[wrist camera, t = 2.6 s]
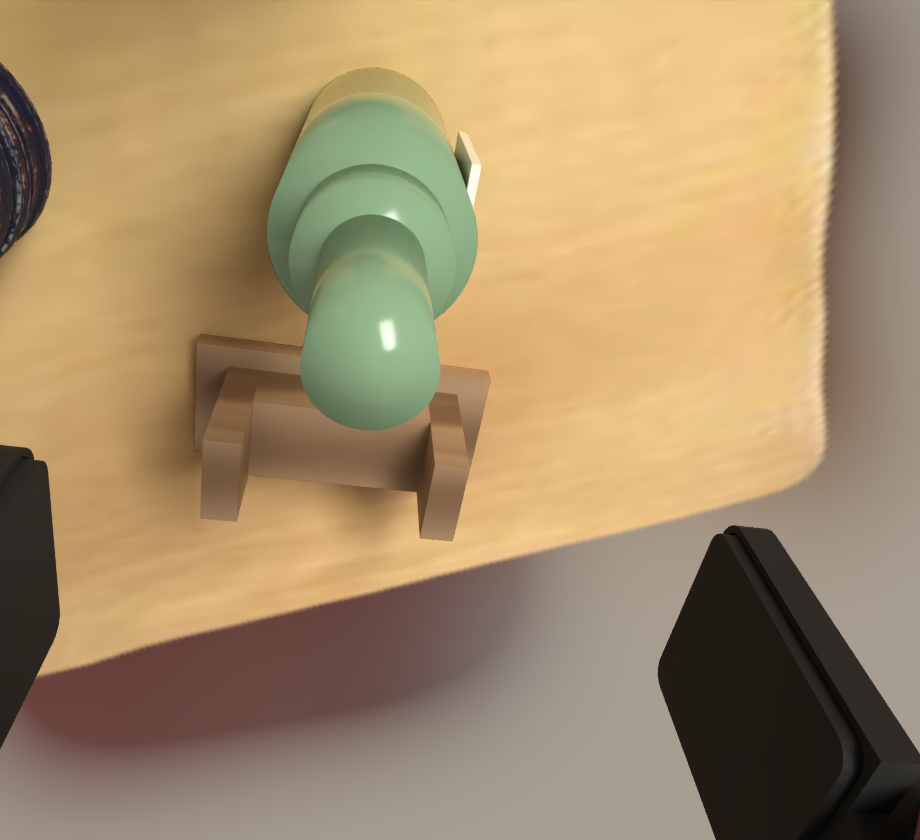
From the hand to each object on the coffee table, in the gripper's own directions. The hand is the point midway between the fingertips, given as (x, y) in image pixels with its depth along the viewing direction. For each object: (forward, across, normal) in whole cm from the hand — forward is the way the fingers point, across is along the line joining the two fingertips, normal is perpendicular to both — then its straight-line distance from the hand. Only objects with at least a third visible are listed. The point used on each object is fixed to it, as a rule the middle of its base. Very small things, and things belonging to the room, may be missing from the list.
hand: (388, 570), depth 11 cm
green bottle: (+27, +1, 0) cm, 27 cm away
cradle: (+27, +1, +13) cm, 30 cm away
